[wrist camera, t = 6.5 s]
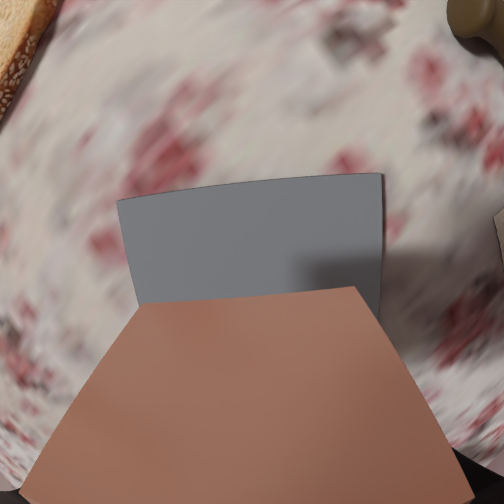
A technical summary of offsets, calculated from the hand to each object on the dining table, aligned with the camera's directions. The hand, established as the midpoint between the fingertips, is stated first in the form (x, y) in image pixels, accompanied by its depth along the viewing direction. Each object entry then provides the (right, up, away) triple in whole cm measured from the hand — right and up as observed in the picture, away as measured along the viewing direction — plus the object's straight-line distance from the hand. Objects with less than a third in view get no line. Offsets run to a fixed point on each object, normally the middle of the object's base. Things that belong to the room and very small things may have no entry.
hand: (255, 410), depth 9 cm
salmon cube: (0, +1, +1) cm, 2 cm away
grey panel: (0, +3, +8) cm, 9 cm away
